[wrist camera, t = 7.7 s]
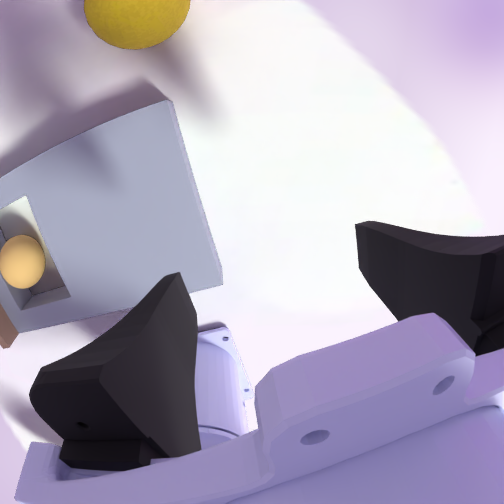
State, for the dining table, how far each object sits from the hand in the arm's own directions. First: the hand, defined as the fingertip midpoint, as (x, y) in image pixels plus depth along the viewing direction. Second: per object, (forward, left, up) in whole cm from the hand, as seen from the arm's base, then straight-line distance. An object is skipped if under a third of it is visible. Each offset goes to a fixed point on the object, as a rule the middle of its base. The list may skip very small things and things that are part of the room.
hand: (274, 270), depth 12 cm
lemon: (+14, +3, -10) cm, 17 cm away
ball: (+1, +19, -9) cm, 21 cm away
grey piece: (+2, +13, -9) cm, 16 cm away
